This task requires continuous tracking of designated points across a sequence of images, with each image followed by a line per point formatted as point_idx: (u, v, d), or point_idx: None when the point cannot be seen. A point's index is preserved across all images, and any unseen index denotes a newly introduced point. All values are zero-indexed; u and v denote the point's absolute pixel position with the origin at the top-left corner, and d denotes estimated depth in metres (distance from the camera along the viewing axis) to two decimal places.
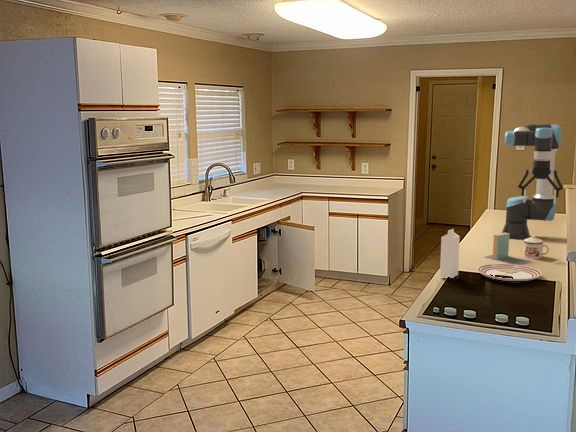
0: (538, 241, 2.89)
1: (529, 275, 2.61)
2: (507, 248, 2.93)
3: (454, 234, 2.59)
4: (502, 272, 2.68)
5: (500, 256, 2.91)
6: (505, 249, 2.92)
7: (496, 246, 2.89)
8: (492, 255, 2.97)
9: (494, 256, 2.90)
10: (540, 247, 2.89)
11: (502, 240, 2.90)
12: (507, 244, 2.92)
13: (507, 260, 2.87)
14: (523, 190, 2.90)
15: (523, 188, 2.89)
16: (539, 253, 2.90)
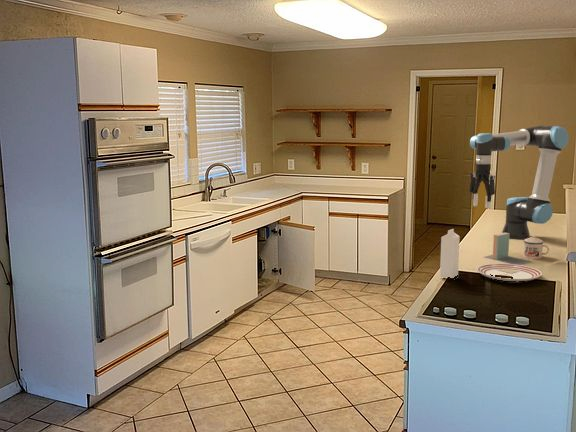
0: (538, 241, 2.89)
1: (529, 275, 2.61)
2: (507, 248, 2.93)
3: (454, 234, 2.59)
4: (502, 272, 2.68)
5: (500, 256, 2.91)
6: (505, 249, 2.92)
7: (496, 246, 2.89)
8: (492, 255, 2.97)
9: (494, 256, 2.90)
10: (540, 247, 2.89)
11: (502, 240, 2.90)
12: (507, 244, 2.92)
13: (507, 260, 2.87)
14: (473, 194, 3.12)
15: (473, 192, 3.11)
16: (539, 253, 2.90)
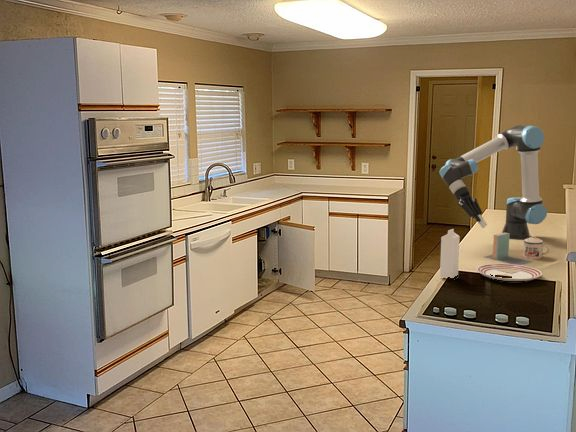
0: (538, 241, 2.89)
1: (529, 275, 2.61)
2: (507, 248, 2.93)
3: (454, 234, 2.59)
4: (502, 272, 2.68)
5: (500, 256, 2.91)
6: (505, 249, 2.92)
7: (496, 246, 2.89)
8: (492, 255, 2.97)
9: (494, 256, 2.90)
10: (540, 247, 2.89)
11: (502, 240, 2.90)
12: (507, 244, 2.92)
13: (507, 260, 2.87)
14: None
15: None
16: (539, 253, 2.90)
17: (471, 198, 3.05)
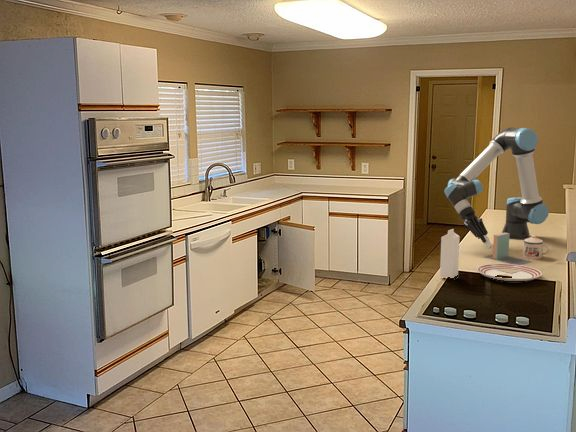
0: (538, 241, 2.89)
1: (529, 275, 2.61)
2: (507, 248, 2.93)
3: (454, 234, 2.59)
4: (502, 272, 2.68)
5: (500, 256, 2.91)
6: (505, 249, 2.92)
7: (496, 246, 2.89)
8: (492, 255, 2.97)
9: (494, 256, 2.90)
10: (540, 247, 2.89)
11: (502, 240, 2.90)
12: (507, 244, 2.92)
13: (507, 260, 2.87)
14: None
15: None
16: (539, 253, 2.90)
17: (476, 218, 3.04)
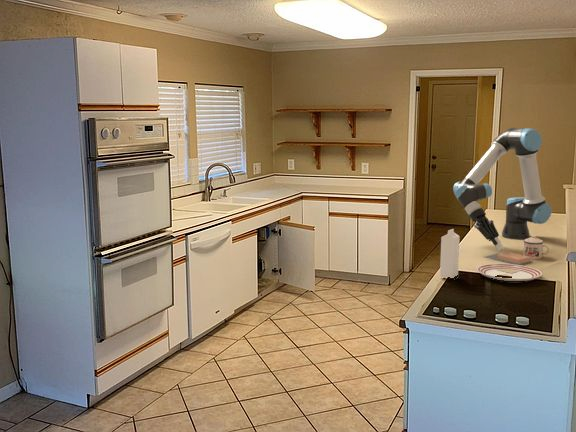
0: (538, 241, 2.89)
1: (529, 275, 2.61)
2: None
3: (454, 234, 2.59)
4: (502, 272, 2.68)
5: None
6: None
7: (508, 260, 2.84)
8: (492, 255, 2.97)
9: (499, 257, 2.88)
10: (540, 247, 2.89)
11: None
12: None
13: None
14: None
15: None
16: (539, 253, 2.90)
17: (487, 220, 2.98)
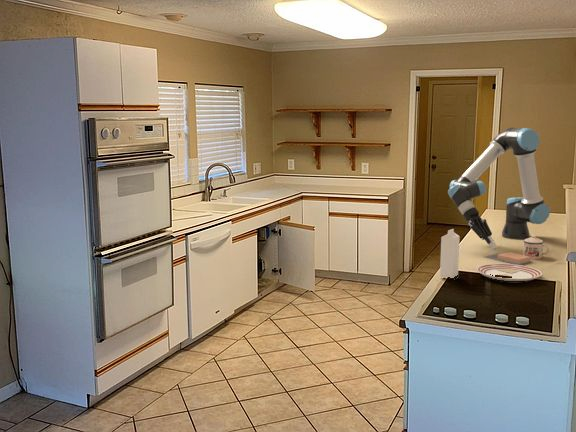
0: (538, 241, 2.89)
1: (529, 275, 2.61)
2: None
3: (454, 234, 2.59)
4: (502, 272, 2.68)
5: None
6: None
7: (508, 260, 2.84)
8: (492, 255, 2.97)
9: (499, 257, 2.88)
10: (540, 247, 2.89)
11: None
12: None
13: None
14: None
15: None
16: (539, 253, 2.90)
17: (480, 219, 3.02)
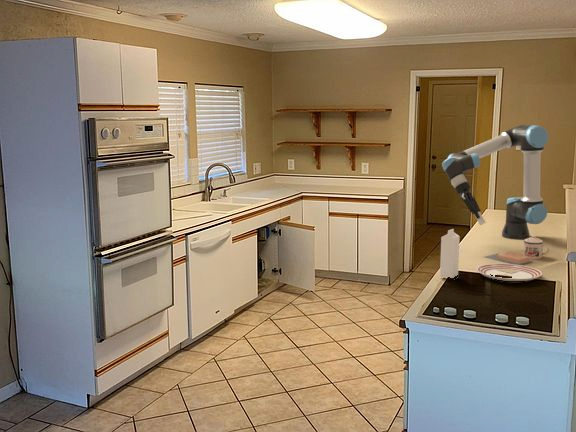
0: (538, 241, 2.89)
1: (529, 275, 2.61)
2: None
3: (454, 234, 2.59)
4: (502, 272, 2.68)
5: None
6: None
7: (508, 260, 2.84)
8: (492, 255, 2.97)
9: (499, 257, 2.88)
10: (540, 247, 2.89)
11: None
12: None
13: None
14: None
15: None
16: (539, 253, 2.90)
17: (471, 194, 3.07)
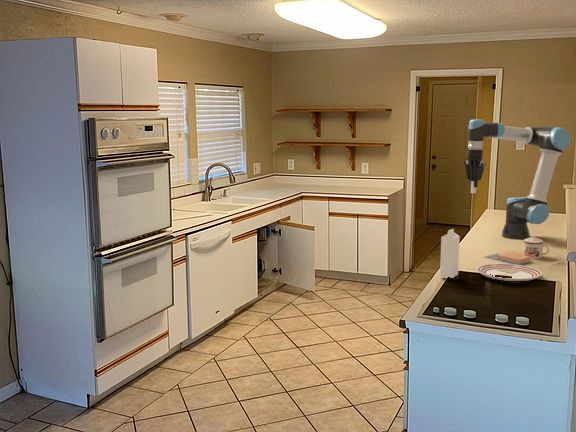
0: (538, 241, 2.89)
1: (529, 275, 2.61)
2: None
3: (454, 234, 2.59)
4: (502, 272, 2.68)
5: None
6: None
7: (508, 260, 2.84)
8: (492, 255, 2.97)
9: (499, 257, 2.88)
10: (540, 247, 2.89)
11: None
12: None
13: None
14: None
15: (470, 179, 3.14)
16: (539, 253, 2.90)
17: None
